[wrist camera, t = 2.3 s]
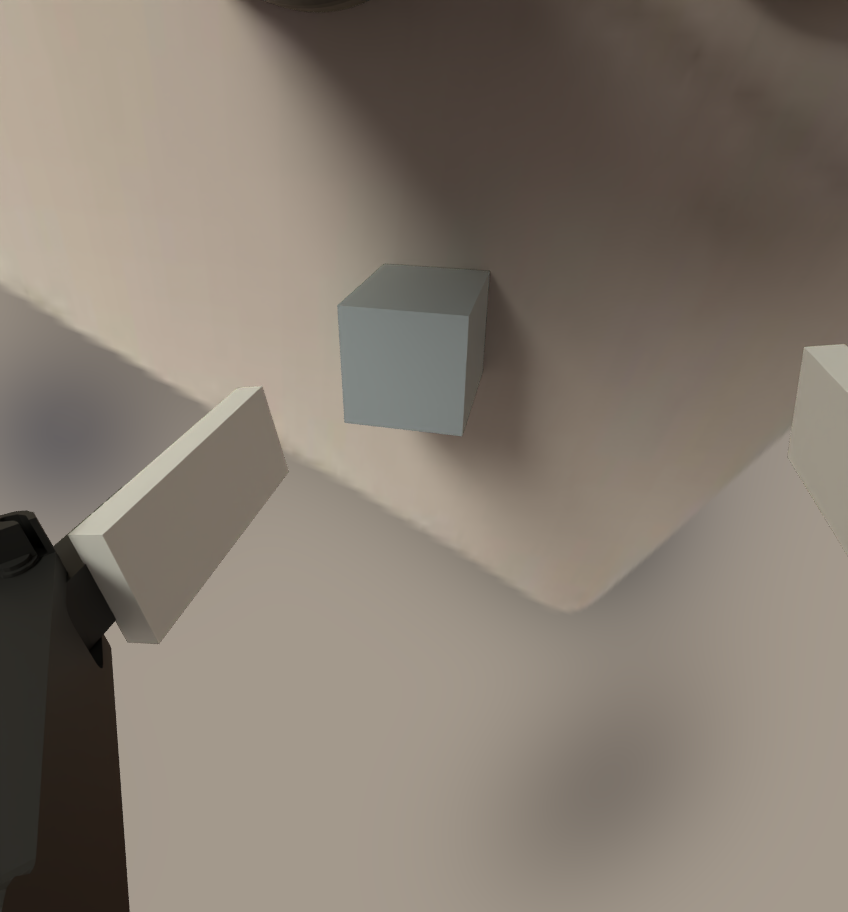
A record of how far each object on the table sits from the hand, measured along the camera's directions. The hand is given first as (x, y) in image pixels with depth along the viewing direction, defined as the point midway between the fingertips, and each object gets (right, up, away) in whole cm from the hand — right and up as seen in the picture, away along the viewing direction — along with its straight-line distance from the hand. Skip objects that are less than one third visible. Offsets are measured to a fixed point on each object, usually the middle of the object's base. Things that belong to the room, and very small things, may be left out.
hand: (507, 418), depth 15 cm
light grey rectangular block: (-1, +7, +20) cm, 21 cm away
